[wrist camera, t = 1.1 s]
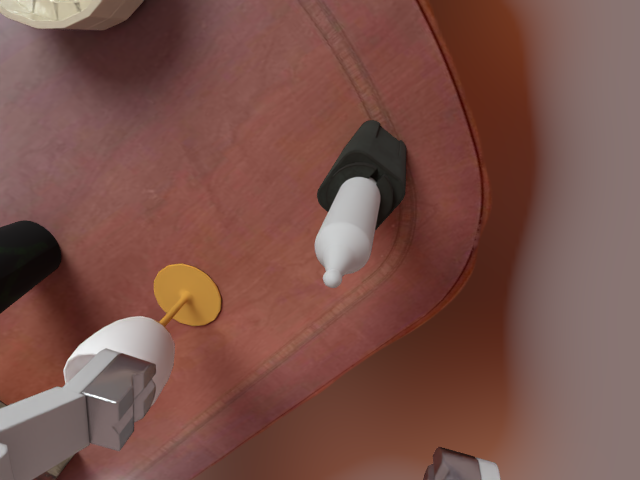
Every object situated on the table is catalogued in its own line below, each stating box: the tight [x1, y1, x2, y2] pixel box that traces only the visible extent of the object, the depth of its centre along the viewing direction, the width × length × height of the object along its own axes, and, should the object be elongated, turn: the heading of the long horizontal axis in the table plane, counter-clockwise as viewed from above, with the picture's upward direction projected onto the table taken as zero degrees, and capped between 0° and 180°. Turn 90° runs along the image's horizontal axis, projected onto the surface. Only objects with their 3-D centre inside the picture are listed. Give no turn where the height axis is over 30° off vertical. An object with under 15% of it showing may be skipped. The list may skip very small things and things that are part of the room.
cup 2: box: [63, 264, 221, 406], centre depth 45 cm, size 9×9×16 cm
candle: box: [315, 120, 406, 288], centre depth 29 cm, size 5×5×25 cm
